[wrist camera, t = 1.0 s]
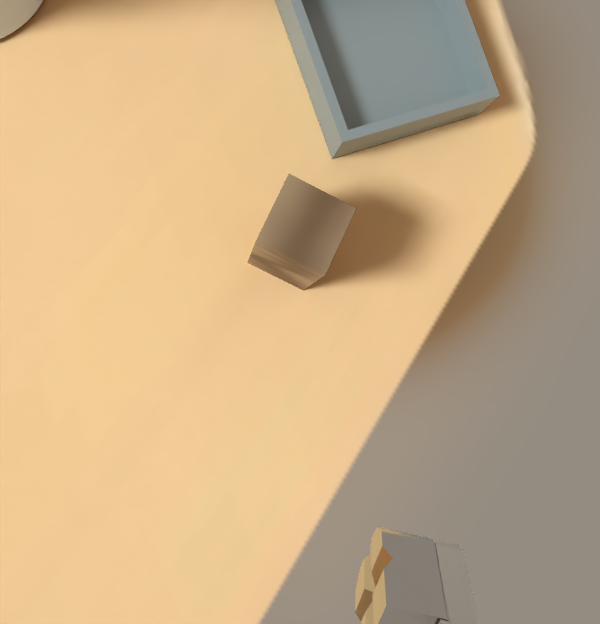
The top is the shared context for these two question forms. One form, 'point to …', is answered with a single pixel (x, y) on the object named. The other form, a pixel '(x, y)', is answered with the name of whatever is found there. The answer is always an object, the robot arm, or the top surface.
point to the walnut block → (301, 234)
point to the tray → (387, 67)
